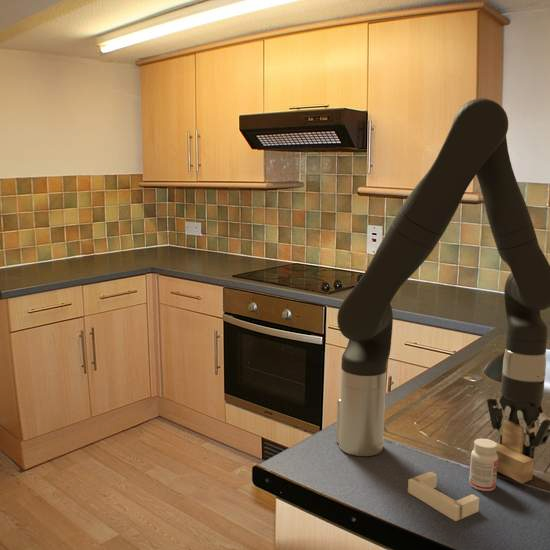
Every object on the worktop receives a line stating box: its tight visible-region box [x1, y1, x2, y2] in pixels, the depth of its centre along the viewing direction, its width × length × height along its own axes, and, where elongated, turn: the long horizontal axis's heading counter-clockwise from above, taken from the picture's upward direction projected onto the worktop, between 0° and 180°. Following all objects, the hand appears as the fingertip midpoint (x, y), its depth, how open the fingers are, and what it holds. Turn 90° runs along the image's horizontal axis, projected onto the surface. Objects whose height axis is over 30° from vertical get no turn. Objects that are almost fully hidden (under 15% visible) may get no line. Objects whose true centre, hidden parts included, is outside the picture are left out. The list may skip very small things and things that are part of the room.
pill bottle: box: [468, 438, 498, 492], centre depth 112 cm, size 5×5×8 cm
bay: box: [407, 471, 480, 522], centre depth 107 cm, size 11×6×2 cm, turn 33°
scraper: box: [488, 420, 535, 484], centre depth 116 cm, size 10×7×9 cm
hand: (516, 457), depth 117 cm, fingers closed on scraper, 4 cm apart
